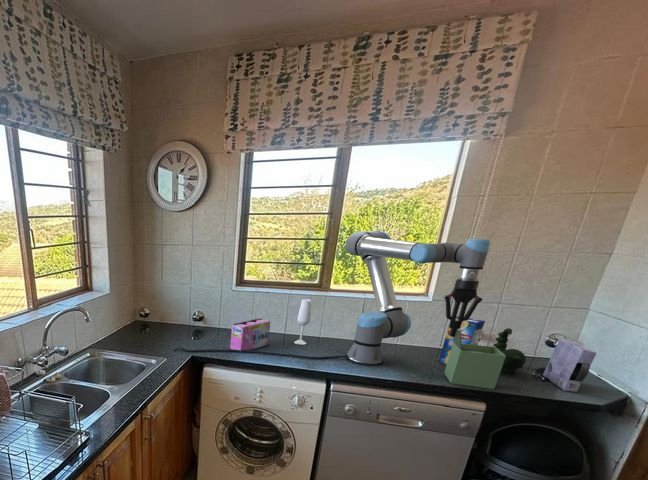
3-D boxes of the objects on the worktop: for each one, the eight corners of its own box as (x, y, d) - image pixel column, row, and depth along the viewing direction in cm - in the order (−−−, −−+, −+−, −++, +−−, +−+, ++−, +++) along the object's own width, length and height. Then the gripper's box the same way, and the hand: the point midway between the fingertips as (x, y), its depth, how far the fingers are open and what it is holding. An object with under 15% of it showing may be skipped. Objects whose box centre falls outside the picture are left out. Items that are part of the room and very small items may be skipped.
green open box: (450, 383, 171) (460, 350, 165) (443, 373, 182) (453, 342, 176) (494, 389, 165) (506, 355, 160) (484, 378, 176) (495, 346, 171)
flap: (461, 349, 165) (460, 349, 165) (454, 341, 176) (452, 341, 176) (461, 331, 163) (459, 332, 163) (453, 324, 174) (452, 325, 174)
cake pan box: (580, 393, 161) (598, 352, 155) (564, 391, 163) (582, 350, 157) (555, 377, 178) (571, 339, 171) (541, 375, 180) (556, 337, 173)
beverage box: (463, 368, 188) (477, 322, 180) (438, 361, 197) (450, 317, 189) (470, 366, 191) (485, 320, 183) (446, 359, 200) (458, 315, 192)
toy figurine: (481, 363, 200) (500, 375, 178) (492, 325, 194) (513, 333, 172) (505, 366, 196) (527, 379, 174) (517, 327, 191) (541, 336, 169)
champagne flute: (291, 342, 225) (297, 299, 216) (297, 340, 229) (303, 298, 220) (302, 345, 220) (309, 301, 212) (308, 342, 225) (315, 300, 216)
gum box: (258, 341, 227) (261, 317, 222) (270, 344, 221) (273, 320, 216) (229, 348, 213) (231, 323, 208) (240, 352, 207) (243, 327, 202)
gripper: (450, 279, 161) (435, 336, 170) (490, 281, 156) (473, 339, 165) (446, 277, 168) (432, 332, 176) (484, 279, 163) (468, 335, 171)
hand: (452, 335), depth 170 cm, fingers closed
